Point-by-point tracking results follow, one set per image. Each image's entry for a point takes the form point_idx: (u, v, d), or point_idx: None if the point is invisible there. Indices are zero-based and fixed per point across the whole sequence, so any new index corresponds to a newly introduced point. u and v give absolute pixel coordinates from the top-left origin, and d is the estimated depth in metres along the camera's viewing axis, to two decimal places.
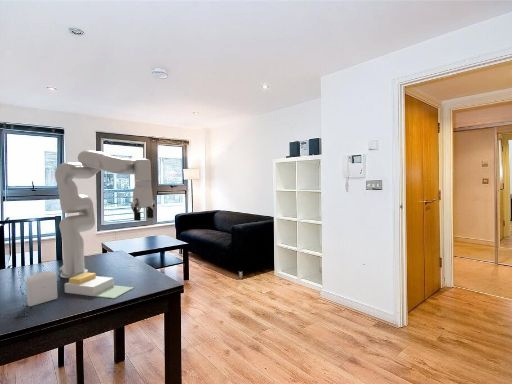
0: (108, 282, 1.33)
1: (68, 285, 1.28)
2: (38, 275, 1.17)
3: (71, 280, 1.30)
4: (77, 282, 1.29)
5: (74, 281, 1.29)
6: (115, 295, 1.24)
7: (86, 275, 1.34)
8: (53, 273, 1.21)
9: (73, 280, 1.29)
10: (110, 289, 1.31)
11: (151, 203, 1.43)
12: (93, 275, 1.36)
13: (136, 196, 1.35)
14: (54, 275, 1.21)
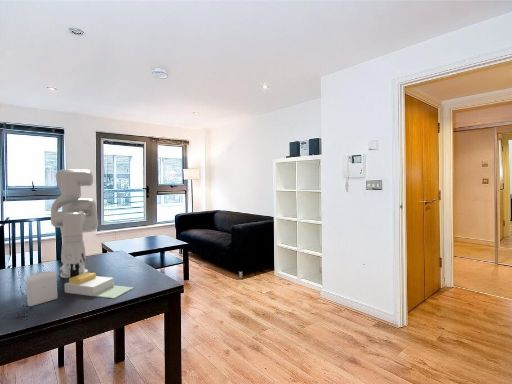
0: (108, 282, 1.33)
1: (68, 285, 1.28)
2: (38, 275, 1.17)
3: (71, 280, 1.30)
4: (77, 282, 1.29)
5: (74, 281, 1.29)
6: (115, 295, 1.24)
7: (86, 275, 1.34)
8: (53, 273, 1.21)
9: (73, 280, 1.29)
10: (110, 289, 1.31)
11: None
12: (93, 275, 1.36)
13: (81, 251, 1.33)
14: (54, 275, 1.21)
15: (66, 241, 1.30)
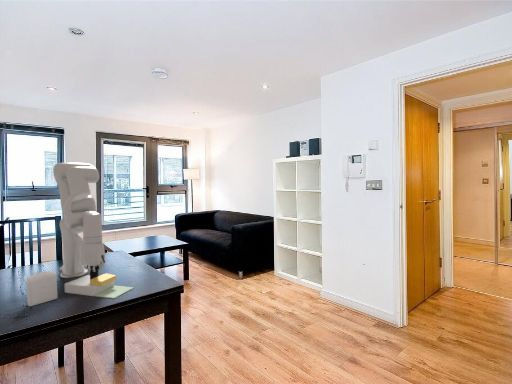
0: None
1: (68, 285, 1.28)
2: (38, 275, 1.17)
3: (92, 281, 1.27)
4: (98, 284, 1.26)
5: (95, 283, 1.26)
6: (115, 295, 1.24)
7: (107, 277, 1.31)
8: (53, 273, 1.21)
9: (94, 282, 1.27)
10: (110, 289, 1.31)
11: None
12: (113, 277, 1.33)
13: (102, 252, 1.30)
14: (54, 275, 1.21)
15: (86, 242, 1.27)
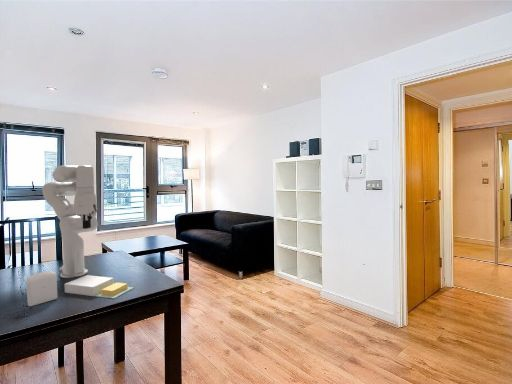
0: (108, 282, 1.33)
1: (68, 285, 1.28)
2: (38, 275, 1.17)
3: (110, 293, 1.24)
4: (103, 291, 1.25)
5: (107, 292, 1.25)
6: (115, 295, 1.24)
7: None
8: (53, 273, 1.21)
9: (107, 293, 1.25)
10: None
11: None
12: None
13: (94, 202, 1.38)
14: (54, 275, 1.21)
15: (79, 192, 1.36)
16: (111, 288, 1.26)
